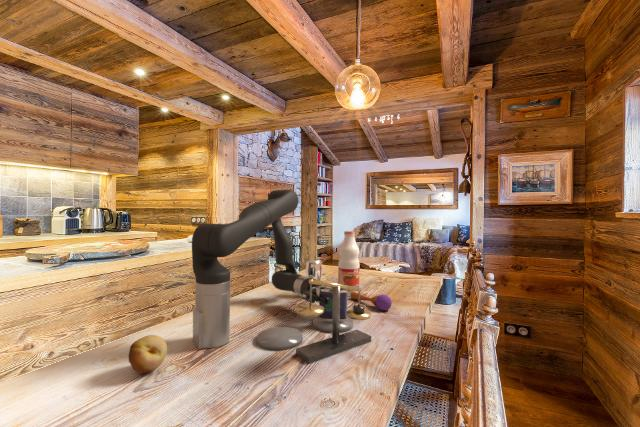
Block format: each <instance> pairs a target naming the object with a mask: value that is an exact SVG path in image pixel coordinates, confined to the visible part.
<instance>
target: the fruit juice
mask: <svg viewBox="0 0 640 427" xmlns="http://www.w3.org/2000/svg"><path fill="white" fill-rule="evenodd" d="M343 233H344V234H343V235H344V238H343V242H342V243H341V245H340V247H339V248H338V255H339V260H338V264H337V265H338V266H337V267H338V272H337V273H338V274H337V275H338V277H337V284H342V285H348V286H353V287H359V288H360V268H361V266H360V260H359V259H360V258H359V256H360V254H361V252H360V248H359V246H358V245H357V244H358V243H357V242H356V238H355V236H356V232H355V231H354V230H353V231H352V230H345V231H344V232H343ZM344 290H345V289H344ZM345 291H347V292H348V297H350V295H351V293H352V292H353V291H351V290H345ZM354 292H357V291H354ZM357 293H358V292H357ZM350 298H351V297H350Z"/></svg>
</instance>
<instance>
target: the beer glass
mask: <svg viewBox="0 0 640 427" xmlns="http://www.w3.org/2000/svg"><path fill="white" fill-rule="evenodd" d="M322 264H323V262H322V261H321V260H307V261H306V263H305V276H307V277H310V278H313V279H316V280H319V281H322V276H323V275H322V274H323V265H322Z"/></svg>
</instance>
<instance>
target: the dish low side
mask: <svg viewBox="0 0 640 427" xmlns="http://www.w3.org/2000/svg"><path fill="white" fill-rule="evenodd" d="M312 322H313V324H312V325H313V328H314V329H316V330H318V331H320V332H324V333H328V334H329V333H330V334H332V319H322V318H319V316H315V318H313V320H312ZM353 327H354V321H353V319H351V318H349V317H348V316H347V318H346V319H340V328H339V334H341V333H347V332H350V331H352V329H353Z"/></svg>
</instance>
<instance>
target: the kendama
mask: <svg viewBox="0 0 640 427" xmlns="http://www.w3.org/2000/svg"><path fill="white" fill-rule="evenodd" d="M350 299H351V300H357V301H358V293H357V292H354V291H353V292H352V293H351V295H350ZM360 301H367V302H371V304H372V305H374V306H375V307H376V308H377V309H378V310H379V311H382V312H385V311H388V310H389V309H391V307H392V300H391V297H390V296H389V295H387V294H379V295H375V296H372V297H369V296H366V295H365V294H362V293H360Z"/></svg>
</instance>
